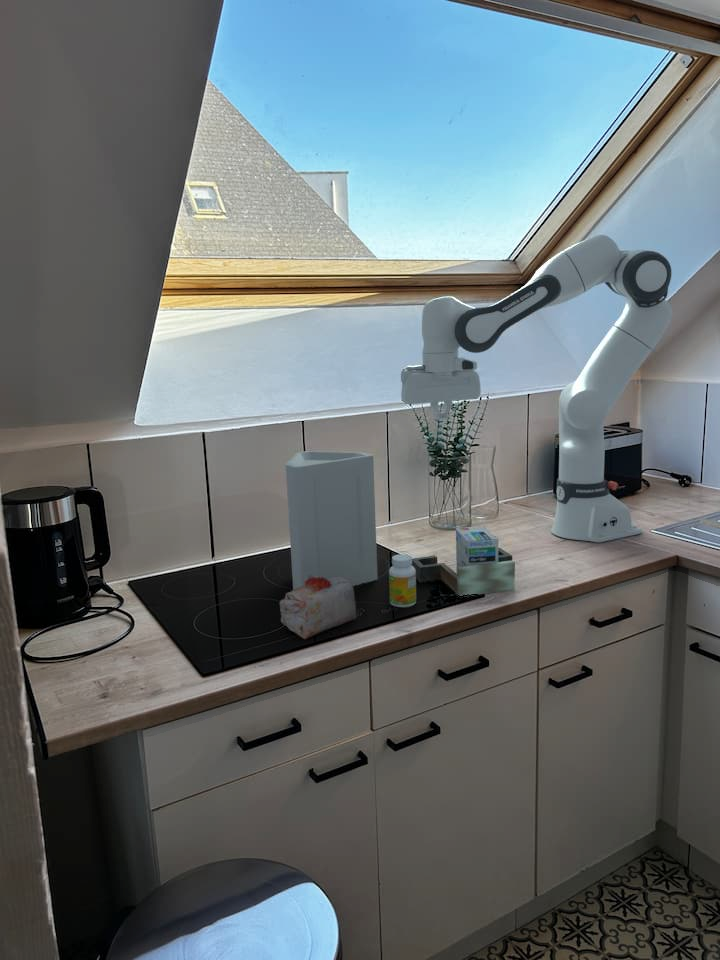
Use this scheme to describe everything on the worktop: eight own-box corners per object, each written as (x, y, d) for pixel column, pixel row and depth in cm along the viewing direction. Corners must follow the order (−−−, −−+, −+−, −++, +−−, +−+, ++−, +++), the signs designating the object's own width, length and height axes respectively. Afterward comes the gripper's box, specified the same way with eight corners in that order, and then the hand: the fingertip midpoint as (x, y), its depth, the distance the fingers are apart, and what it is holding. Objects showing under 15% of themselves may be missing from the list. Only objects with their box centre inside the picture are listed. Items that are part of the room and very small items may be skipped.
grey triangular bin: (344, 562, 173) (339, 446, 166) (379, 579, 160) (374, 455, 154) (272, 579, 163) (263, 457, 157) (303, 599, 150) (295, 467, 144)
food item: (303, 644, 130) (300, 592, 128) (278, 631, 136) (274, 581, 133) (360, 621, 138) (358, 573, 136) (334, 610, 144) (332, 563, 142)
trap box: (498, 561, 169) (499, 536, 167) (534, 586, 152) (535, 559, 151) (410, 572, 163) (409, 547, 162) (438, 600, 147) (437, 572, 146)
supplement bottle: (384, 603, 146) (382, 558, 144) (401, 595, 150) (400, 551, 148) (404, 610, 143) (403, 563, 141) (421, 602, 147) (420, 556, 144)
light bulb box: (499, 587, 153) (499, 538, 151) (468, 590, 152) (468, 541, 150) (484, 570, 163) (484, 524, 161) (455, 573, 162) (454, 527, 160)
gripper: (404, 367, 174) (406, 424, 177) (483, 362, 179) (483, 417, 182) (396, 366, 180) (398, 421, 183) (472, 361, 185) (473, 415, 188)
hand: (441, 419), depth 182 cm, fingers closed
